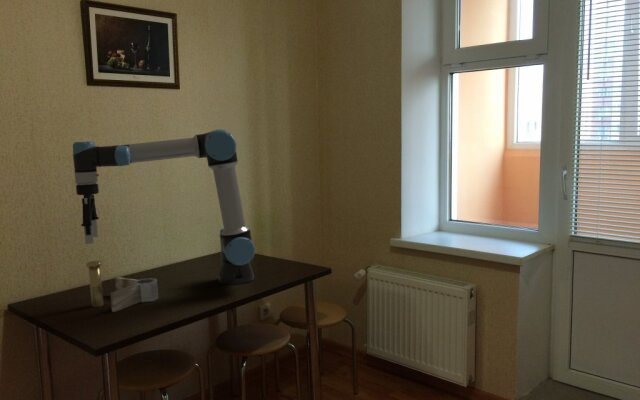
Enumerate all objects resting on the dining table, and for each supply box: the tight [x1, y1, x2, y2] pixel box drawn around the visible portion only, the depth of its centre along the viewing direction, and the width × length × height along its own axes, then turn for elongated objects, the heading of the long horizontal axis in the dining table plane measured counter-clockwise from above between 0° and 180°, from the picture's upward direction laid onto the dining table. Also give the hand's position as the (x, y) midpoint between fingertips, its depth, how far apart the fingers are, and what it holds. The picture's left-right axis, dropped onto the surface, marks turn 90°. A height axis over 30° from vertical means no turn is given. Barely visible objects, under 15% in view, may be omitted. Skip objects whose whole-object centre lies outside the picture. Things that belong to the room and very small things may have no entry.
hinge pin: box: [85, 260, 104, 308], centre depth 197 cm, size 5×5×17 cm
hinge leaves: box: [110, 276, 141, 313], centre depth 200 cm, size 17×17×7 cm
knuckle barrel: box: [134, 277, 159, 303], centre depth 203 cm, size 8×8×7 cm
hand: (92, 240), depth 196 cm, fingers open, 13 cm apart
